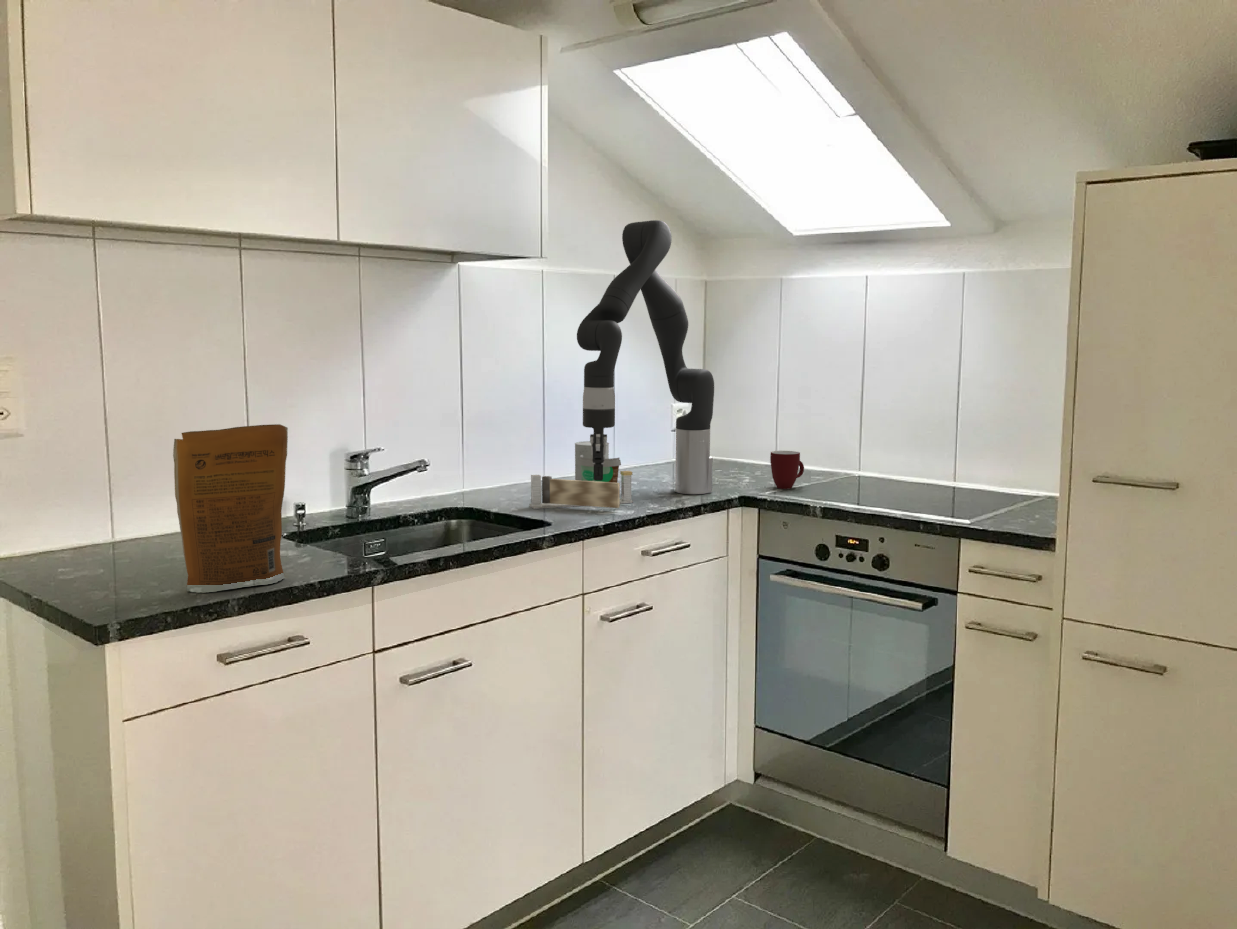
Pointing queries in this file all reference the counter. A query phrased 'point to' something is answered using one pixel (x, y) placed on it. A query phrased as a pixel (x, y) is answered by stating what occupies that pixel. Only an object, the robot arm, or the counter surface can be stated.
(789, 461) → the mug
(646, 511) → the counter surface
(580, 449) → the grey cylindrical canister
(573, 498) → the gate
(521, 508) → the counter surface
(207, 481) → the pancake mix bag
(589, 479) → the food container
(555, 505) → the gate frame
